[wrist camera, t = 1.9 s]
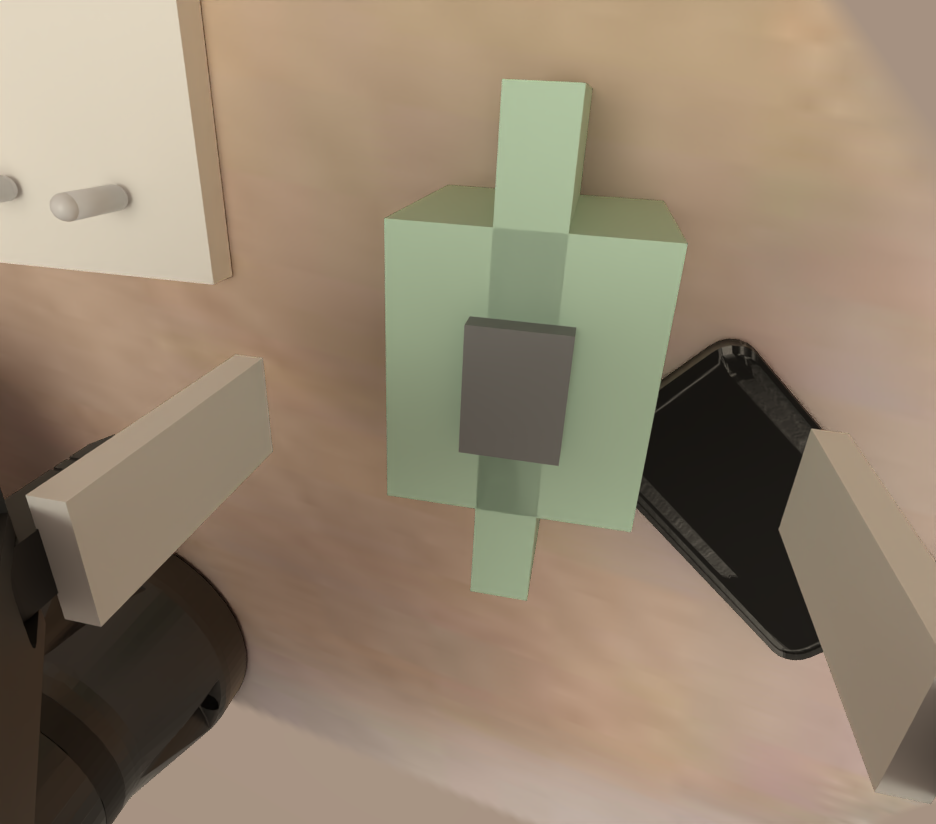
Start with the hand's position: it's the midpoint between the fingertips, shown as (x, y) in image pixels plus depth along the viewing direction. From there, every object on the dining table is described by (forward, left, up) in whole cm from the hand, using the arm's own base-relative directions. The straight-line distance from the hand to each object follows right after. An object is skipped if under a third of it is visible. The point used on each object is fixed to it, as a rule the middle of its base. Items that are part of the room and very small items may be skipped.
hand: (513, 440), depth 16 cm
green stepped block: (0, 0, -12) cm, 12 cm away
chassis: (-12, +18, -11) cm, 25 cm away
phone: (+5, -12, -12) cm, 18 cm away
